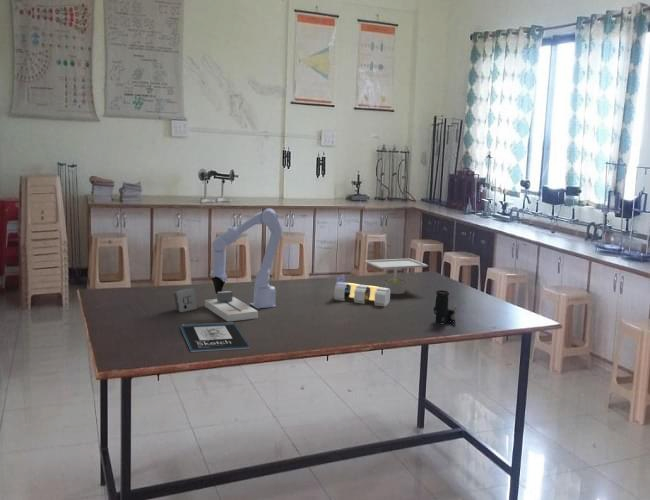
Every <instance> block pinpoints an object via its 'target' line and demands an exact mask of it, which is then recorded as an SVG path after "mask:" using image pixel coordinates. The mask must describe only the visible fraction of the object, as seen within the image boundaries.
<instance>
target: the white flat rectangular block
mask: <svg viewBox="0 0 650 500" xmlns="http://www.w3.org/2000/svg"><path fill="white" fill-rule="evenodd" d="M204 307H205V308H206V309H208V310H209V311H211V312H212V313H214V314H215V315H217V316H218V317H220V318H221V319H223V320H225V321H226V322H227V323H228V322H229V323H230V322H235V321H244V320H245V321H246V320H255V319H259V310H257V309H255V307H253V306H251V305H248V304H247V303H245V302H243V301H241V299H239V298H236V297H235V296H232V301H228V302H218V301H217V298H213V299H205V300H204Z"/></svg>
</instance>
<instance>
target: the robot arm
mask: <svg viewBox="0 0 650 500" xmlns="http://www.w3.org/2000/svg"><path fill="white" fill-rule="evenodd" d="M263 224H264V225H265V226H266V227H267V228H268V230H269V231H270V236H269V239H268V243H267V246H266V248H265V253H264V256H263V259H262V262H261V265H260V268H259V270H258V271H257V273H256V275H255V279H254V285H253V302H249V304H250V306H251V307H253V308H256V309H264V308H274V307H276V306H277V305H276V294H277V292H276V291H277V290H276V287H275V286H274V285H270V283H269V282H270V279H271V276H270V274H271V273H270V272H271V269H272V266H273V263H274V260H275V256H276V252H277V250H278V246H279V242H280V239H281V236H282V233H283V228H282V224H281V221H280V219H279V215H278V213H277V212H276V210H275V209H273V208H270V207H267V208H265V209H264V210H263V211H262V210H261V211H259V212H258V213H256V214H255V215H253V216H251V217H250V218H248V219H247V220H246V221H245V222H243V223H242V224H241V225H239V226H238V227H237V226H236V227H234V226H233V227H229V228H227V231H225V232H224V233H220V234H219V236H217V237H216V238H215V239H214V240H213V241H212V246H211V247H212V249H213V250H212V252H213V253H212V270H210V274H209V276H210V277H211V281H212V282H213V283H212V284H213V286H214V291H215V294H216V295H217V292H221V291H223V288H224V285H225V283H226V282H228V276H227V273H226V267H227V265H226V263H227V262H226V261H227V260H226V259H227V254H226V247H227V246H230V245H232V244H233V243H234V242H236V241H237V240H240V238H241V237H242V233H244V232H246V231H247V230H249V229H251V228H252V227H254V226H256V225H263Z"/></svg>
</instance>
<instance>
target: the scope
mask: <svg viewBox="0 0 650 500" xmlns="http://www.w3.org/2000/svg"><path fill="white" fill-rule="evenodd" d="M435 293H436V296H435V303H434V305H435V306H434V307H433V313H434V315H435V324H438V323H445V322H447V323H449V322H448V321H451V322H453V321H454V322H453V323H456V320H457V318H458V315H457V305H454V309H450V308H449V296H450V292H449V291H448V290H444V289H443V290H437V291H436V292H435ZM451 322H450V323H451ZM445 324H446V323H445Z"/></svg>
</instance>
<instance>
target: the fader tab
mask: <svg viewBox="0 0 650 500" xmlns="http://www.w3.org/2000/svg"><path fill="white" fill-rule="evenodd" d="M232 297H233V291H231V290H222V291H221V292H217V294H216V299H217V301H218V302H228V301H232Z"/></svg>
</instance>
